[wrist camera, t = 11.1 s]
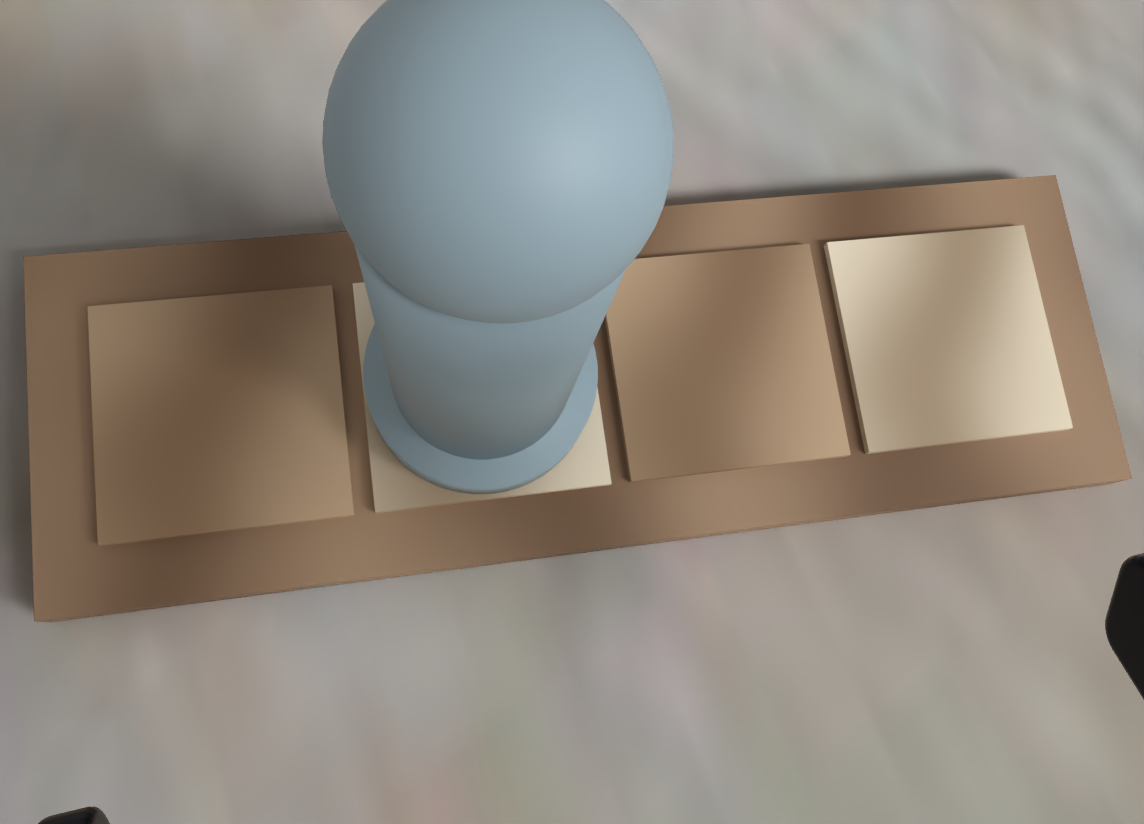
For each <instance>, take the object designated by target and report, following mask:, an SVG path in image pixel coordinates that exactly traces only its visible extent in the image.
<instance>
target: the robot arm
mask: <svg viewBox="0 0 1144 824" xmlns="http://www.w3.org/2000/svg"><path fill="white" fill-rule="evenodd" d="M1105 630H1106V634H1107V638H1108V641H1109V643H1110V645H1111V647H1112V649H1113V651H1114V653H1115V654H1116V656H1117V657H1118V659H1119V661H1120V662H1121V664H1122V665H1123V667H1124V669H1125V670H1126V672H1127V673H1128V675H1129V677H1130V678H1131V680H1132V681H1133V683H1134V685H1135V686H1136V688H1137V689H1138V691H1139V693H1140V694H1141V696H1142V697H1143V699H1144V553H1142V554H1138V555H1134V556H1131V557H1129V558H1128V559H1127V560H1126V561H1125V562H1124V563H1123V564H1122V566H1121V568H1120V571H1119V574H1118V578H1117V581H1116V585H1115V588H1114V592H1113V595H1112V598H1111V602H1110V605H1109V609H1108V612H1107V616H1106V620H1105ZM38 824H110V823H109V821H108V819H107V817H106V815H105V814H104V813H103V811H101V810H100V809H99V808H97V807H85V808H81V809H77V810H73V811H69V812H65V813H60V814H56V815H52V816H49V817H47V818H45V819H43V820H42V821H40V822H39V823H38Z"/></svg>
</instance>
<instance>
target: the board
mask: <svg viewBox="0 0 1144 824" xmlns="http://www.w3.org/2000/svg"><path fill="white" fill-rule="evenodd" d="M23 261H24V294H25V328H26V361H27V395H28V428H29V462H30V495H31V528H32V562H33V595H34V621H38V622H56V621H63V620H71V619H79V618H86V617H94V616H102V615H109V614H117V613H125V612H132V611H140V610H148V609H155V608H163V607H171V606H178V605H186V604H194V603H201V602H209V601H217V600H224V599H232V598H240V597H247V596H255V595H263V594H270V593H278V592H286V591H293V590H301V589H308V588H316V587H324V586H331V585H339V584H347V583H354V582H362V581H370V580H377V579H385V578H393V577H400V576H408V575H416V574H423V573H431V572H439V571H446V570H454V569H462V568H469V567H477V566H485V565H492V564H500V563H508V562H515V561H523V560H531V559H538V558H546V557H554V556H561V555H569V554H577V553H584V552H592V551H600V550H607V549H615V548H623V547H630V546H638V545H646V544H653V543H661V542H669V541H676V540H684V539H692V538H699V537H707V536H714V535H722V534H730V533H737V532H745V531H753V530H760V529H768V528H776V527H783V526H791V525H799V524H806V523H814V522H822V521H829V520H837V519H845V518H852V517H860V516H868V515H875V514H883V513H891V512H898V511H906V510H914V509H921V508H929V507H937V506H944V505H952V504H960V503H967V502H975V501H983V500H990V499H998V498H1006V497H1013V496H1021V495H1029V494H1036V493H1044V492H1052V491H1059V490H1067V489H1075V488H1082V487H1090V486H1098V485H1105V484H1111V483H1115V482H1119V481H1123V480H1128V479H1132V477H1131V473H1130V469H1129V465H1128V461H1127V457H1126V453H1125V449H1124V445H1123V441H1122V437H1121V433H1120V429H1119V425H1118V421H1117V417H1116V413H1115V409H1114V405H1113V401H1112V397H1111V394H1110V390H1109V386H1108V382H1107V378H1106V374H1105V370H1104V366H1103V362H1102V358H1101V354H1100V350H1099V346H1098V342H1097V338H1096V334H1095V330H1094V326H1093V322H1092V318H1091V314H1090V310H1089V306H1088V302H1087V298H1086V294H1085V290H1084V286H1083V282H1082V278H1081V274H1080V271H1079V267H1078V263H1077V259H1076V255H1075V251H1074V247H1073V243H1072V239H1071V235H1070V231H1069V227H1068V223H1067V219H1066V215H1065V211H1064V207H1063V203H1062V199H1061V195H1060V191H1059V187H1058V183H1057V179H1056V175H1051V176H1038V177H1026V178H1013V179H1000V180H988V181H975V182H962V183H950V184H937V185H924V186H912V187H899V188H886V189H874V190H861V191H848V192H836V193H823V194H810V195H798V196H785V197H772V198H760V199H747V200H734V201H722V202H709V203H696V204H684V205H671V206H664V207H663V209H662V212H661V214H660V217H659V219H658V222H657V224H656V226H655V228H654V230H653V232H652V233H651V235H650V237H649V238H648V240H647V242H646V244H645V245H644V247H643V248H642V250H641V251H640V253H639V254H638V255H637V256H636V258H635V259H634V260H633V261H632V263H631V264H630V265H629V266H628V268H627V269H626V270H625V273H624V275H623V277H622V279H621V282H620V284H619V286H618V288H617V291H616V293H615V295H614V297H613V300H612V302H611V304H610V306H609V309H608V311H607V313H606V315H605V318H604V320H603V322H602V324H601V327H600V329H599V331H598V333H597V336H596V338H595V340H594V342H593V344H594V347H595V351H596V358H597V364H598V384H597V392H596V397H595V401H594V405H593V409H592V411H591V414H590V416H589V419H588V421H587V423H586V425H585V427H584V428H583V430H582V432H581V434H580V435H579V437H578V439H577V441H576V442H575V444H574V446H573V447H572V448H571V450H570V451H569V452H568V454H567V455H566V456H565V457H564V458H563V459H562V460H561V461H560V462H559V463H558V464H557V465H556V466H555V467H554V468H553V469H551V470H550V471H549V472H547V473H546V474H545V475H544V476H542V477H540V478H538V479H537V480H535V481H533V482H531V483H529V484H527V485H524V486H522V487H519V488H517V489H513V490H509V491H506V492H501V493H493V494H468V493H460V492H455V491H451V490H448V489H444V488H441V487H439V486H436V485H434V484H432V483H429V482H427V481H426V480H424V479H422V478H421V477H419V476H417V475H416V474H414V473H413V472H412V471H410V470H409V469H408V468H407V467H405V466H404V465H403V464H402V463H401V462H400V461H399V460H398V459H397V458H396V457H395V456H394V455H393V453H392V452H391V451H390V449H389V448H388V447H387V445H386V444H385V442H384V441H383V439H382V437H381V435H380V434H379V432H378V430H377V427H376V425H375V422H374V420H373V417H372V414H371V412H370V409H369V406H368V403H367V399H366V395H365V390H364V380H363V364H364V356H365V350H366V345H367V342H368V339H369V336H370V333H371V331H372V329H373V326H374V324H375V321H374V318H373V314H372V310H371V306H370V302H369V299H368V295H367V291H366V287H365V283H364V280H363V276H362V272H361V268H360V264H359V261H358V257H357V253H356V249H355V245H354V243H353V241H352V239H351V237H350V236H349V234H348V232H347V231H342V232H329V233H316V234H304V235H291V236H278V237H266V238H253V239H240V240H228V241H215V242H202V243H190V244H177V245H164V246H152V247H139V248H126V249H114V250H101V251H88V252H76V253H63V254H50V255H38V256H25V257H23Z"/></svg>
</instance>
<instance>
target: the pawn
mask: <svg viewBox="0 0 1144 824" xmlns="http://www.w3.org/2000/svg"><path fill="white" fill-rule="evenodd" d="M322 143H323V153H324V163H325V171H326V177H327V181H328V185H329V189H330V193H331V197H332V199H333V202H334V204H335V207H336V209H337V212H338V214H339V217H340V219H341V221H342V223H343V225H344V227H345V229H346V230H347V232H348V234H349V236H350V237H351V239H352V241H353V243H354V245H355V249H356V253H357V257H358V261H359V264H360V268H361V272H362V276H363V280H364V283H365V287H366V291H367V295H368V299H369V302H370V306H371V310H372V314H373V318H374V321H375V324H374V326H373V329H372V331H371V333H370V336H369V339H368V342H367V345H366V350H365V356H364V364H363V380H364V390H365V395H366V399H367V403H368V406H369V409H370V412H371V414H372V417H373V420H374V422H375V425H376V427H377V430H378V432H379V434H380V435H381V437H382V439H383V441H384V442H385V444H386V445H387V447H388V448H389V449H390V451H391V452H392V453H393V455H394V456H395V457H396V458H397V459H398V460H399V461H400V462H401V463H402V464H403V465H404V466H405V467H407V468H408V469H409V470H410V471H412V472H413V473H414V474H416V475H417V476H419V477H421V478H422V479H424V480H426V481H427V482H429V483H432V484H434V485H436V486H439V487H441V488H444V489H448V490H451V491H455V492H460V493H468V494H493V493H501V492H506V491H509V490H513V489H517V488H519V487H522V486H524V485H527V484H529V483H531V482H533V481H535V480H537V479H538V478H540V477H542V476H544V475H545V474H546V473H547V472H549V471H550V470H551V469H553V468H554V467H555V466H556V465H557V464H558V463H559V462H560V461H561V460H562V459H563V458H564V457H565V456H566V455H567V454H568V452H569V451H570V450H571V448H572V447H573V446H574V444H575V442H576V441H577V439H578V437H579V435H580V434H581V432H582V430H583V428H584V427H585V425H586V423H587V421H588V419H589V416H590V414H591V411H592V409H593V405H594V401H595V397H596V392H597V384H598V364H597V358H596V351H595V347H594V344H593V342H594V340H595V338H596V336H597V333H598V331H599V329H600V327H601V324H602V322H603V320H604V318H605V315H606V313H607V311H608V309H609V306H610V304H611V302H612V300H613V297H614V295H615V293H616V291H617V288H618V286H619V284H620V282H621V279H622V277H623V275H624V273H625V270H626V269H627V268H628V266H629V265H630V264H631V263H632V261H633V260H634V259H635V258H636V256H637V255H638V254H639V253H640V251H641V250H642V248H643V247H644V245H645V244H646V242H647V240H648V238H649V237H650V235H651V233H652V232H653V230H654V228H655V226H656V224H657V222H658V219H659V217H660V214H661V212H662V209H663V207H664V203H665V200H666V197H667V193H668V189H669V185H670V181H671V176H672V166H673V156H674V141H673V123H672V117H671V112H670V106H669V102H668V98H667V95H666V92H665V88H664V85H663V82H662V79H661V76H660V74H659V72H658V70H657V67H656V65H655V63H654V61H653V59H652V57H651V55H650V54H649V52H648V51H647V49H646V48H645V46H644V45H643V43H642V41H641V40H640V38H639V37H638V35H637V34H636V32H635V31H634V30H633V29H632V27H631V26H630V25H629V24H628V23H627V21H626V20H625V19H624V18H623V17H622V16H621V15H620V14H619V13H618V12H617V11H616V10H615V9H614V8H613V7H611V6H610V5H609V4H608V3H607V2H606V1H604V0H387V1H386V2H385V3H383V4H382V5H381V6H380V7H379V8H378V9H377V11H376V12H375V13H374V14H373V15H372V16H371V17H370V18H369V19H368V20H367V21H366V22H365V23H364V24H363V25H362V26H361V28H360V29H359V31H358V32H357V33H356V35H355V36H354V38H353V39H352V40H351V42H350V44H349V45H348V47H347V49H346V51H345V53H344V55H343V57H342V59H341V61H340V63H339V65H338V67H337V69H336V72H335V75H334V77H333V80H332V83H331V86H330V89H329V93H328V98H327V104H326V109H325V115H324V121H323V142H322Z"/></svg>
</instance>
